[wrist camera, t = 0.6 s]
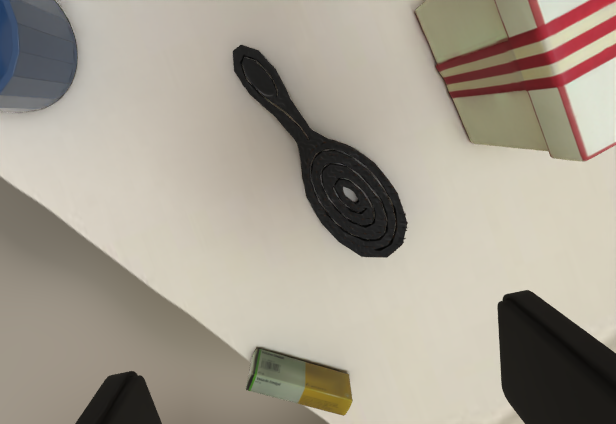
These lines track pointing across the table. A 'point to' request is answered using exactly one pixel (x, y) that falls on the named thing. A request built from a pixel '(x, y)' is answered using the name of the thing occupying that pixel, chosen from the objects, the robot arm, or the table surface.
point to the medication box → (299, 382)
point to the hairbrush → (330, 170)
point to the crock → (34, 54)
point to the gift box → (529, 71)
